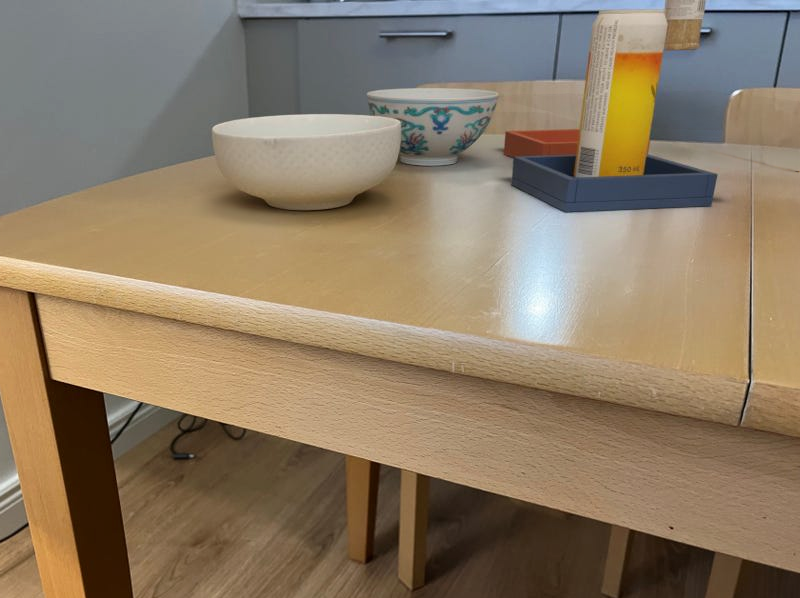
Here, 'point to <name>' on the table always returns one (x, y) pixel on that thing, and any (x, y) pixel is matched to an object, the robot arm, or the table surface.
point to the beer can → (620, 92)
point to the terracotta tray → (542, 142)
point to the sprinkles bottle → (683, 24)
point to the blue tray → (613, 185)
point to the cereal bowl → (307, 157)
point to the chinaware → (435, 120)
